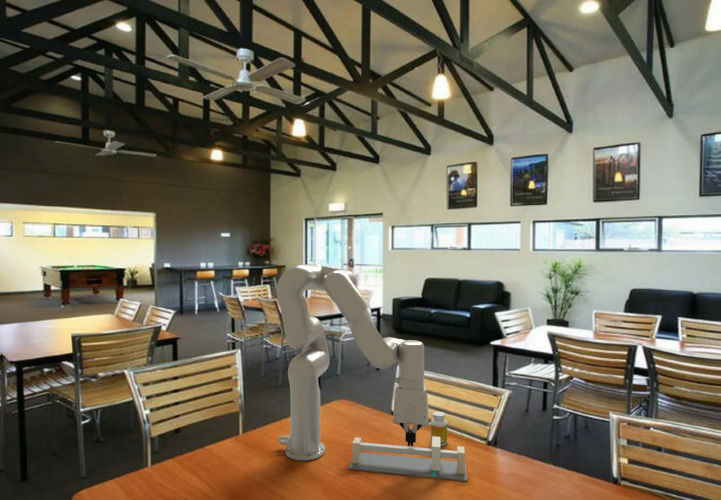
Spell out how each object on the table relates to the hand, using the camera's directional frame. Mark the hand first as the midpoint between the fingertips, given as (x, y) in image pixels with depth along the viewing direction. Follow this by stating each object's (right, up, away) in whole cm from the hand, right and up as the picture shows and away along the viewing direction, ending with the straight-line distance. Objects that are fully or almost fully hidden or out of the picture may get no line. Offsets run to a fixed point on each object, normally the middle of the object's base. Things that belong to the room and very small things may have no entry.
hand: (410, 444), depth 125 cm
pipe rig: (-1, -7, 0) cm, 7 cm away
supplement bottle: (+11, -7, +16) cm, 21 cm away
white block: (+7, -5, -2) cm, 9 cm away
